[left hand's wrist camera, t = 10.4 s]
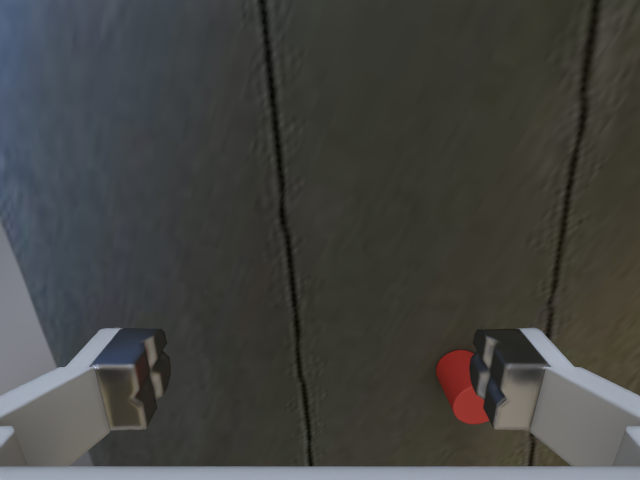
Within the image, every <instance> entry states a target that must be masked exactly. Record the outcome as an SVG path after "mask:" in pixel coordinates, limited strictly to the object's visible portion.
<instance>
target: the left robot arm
mask: <svg viewBox="0 0 640 480" xmlns="http://www.w3.org/2000/svg"><path fill="white" fill-rule="evenodd" d="M166 344H167V341H166V336H165V332H164V331H163V330H162V329H139V328H124V329H123V328H104V329H101V330H99V331H98V332H97V334H96V335H95V336H94V337H93V338H92V339H91V340H90V341H89V342H88V343H87V344H86V345H85V347H84V348H83V349H82V350H81V351H80V352H79V353H78V354H77V355H76V356H75V357H74V359H73V360H72V361H71V362H70V363H69V364H68V365H67V366H66V367H59V368H57V369H55V370H53V371H50V372H48V373H46V374H44V375H42V376H40V377H38V378H36V379H34V380H32V381H30V382H28V383H26V384H24V385H22V386H19V387H17V388H15V389H13V390H11V391H9V392H7V393H5V394H3V395H1V396H0V480H640V396H639V395H637V394H635V393H633V392H631V391H629V390H627V389H625V388H622V387H620V386H618V385H616V384H614V383H612V382H610V381H608V380H606V379H604V378H602V377H600V376H598V375H596V374H594V373H592V372H590V371H587V370H585V369H583V368H581V367H574V366H573V365H572V364H571V363H570V362H569V361H568V360H567V359H566V357H565V356H564V355H563V354H562V353H561V352H560V351H559V350H558V349H557V348H556V347H555V345H554V344H553V343H552V342H551V341H550V340H549V339H548V338H547V337H546V336H545V335H544V333H543V332H542V331H541V330H539V329H537V328H516V329H480V330H477V331H476V333H475V335H474V340H473V344H474V346H475V347H476V349H477V352H476V353H475V354H474V355H473V356H472V357H471V359H470V366H469V371H470V380H471V383H472V387H473V389H474V391H475V393H476V395H478V396H479V397H480V398H482V399H483V400H484V405H483V409H484V411H485V413H486V415H487V417H488V418H489V420H490V422H491V424H492V426H493V428H494V429H505V430H530V432H531V433H532V434H533V435H534V436H535V437H537V438H538V439H539V440H540V441H542V442H543V443H544V444H545V445H546V446H548V447H549V448H550V449H551V450H552V451H554V452H555V453H556V454H557V455H559V456H560V457H561V458H562V459H563V460H565V461H566V462H567V463H568V464H569V465H571V466H376V467H320V466H84V467H83V466H69V465H71V464H72V463H73V462H74V461H76V460H77V459H78V458H79V457H80V456H82V455H83V454H84V453H85V452H86V451H88V450H89V449H90V448H91V447H93V446H94V445H95V444H96V443H97V442H99V441H100V440H101V439H102V438H103V437H105V436H106V435H107V434H108V433H110V430H134V429H146V428H147V426H148V424H149V422H150V420H151V419H152V417H153V415H154V413H155V411H156V409H157V405H156V400H157V399H158V398H160V397H161V396H162V395H164V393H165V391H166V389H167V387H168V383H169V379H170V370H171V365H170V358H169V357H168V356H167V355H166V354H165V353H164V352H163V349H164V347H165V346H166Z"/></svg>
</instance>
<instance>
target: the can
mask: <svg viewBox="0 0 640 480" xmlns="http://www.w3.org/2000/svg"><path fill="white" fill-rule="evenodd" d="M473 355H474V354H473V353H472V352H469V351H466V350H456V351H452V352H450V353H448V354H446V355H445V356H443V357H442V358H441V359H440V361H439V362H438V364H437V368H436V374H437V377H438V379H439V382H440V384H441V386H442V388H443V390H444V393H445V395H446V397H447V399H448V401H449V403H450V406H451V408H452V410H453V412H454V414H455V416H456V417H457V418H458V419H459V420H460V421H462V422H464V423H468V424H480V423H484V422H486V421H489V418H488V417H487V415H486V413H485V411H484V409H483V405H484V400H483V399H482V398H480V397H479V396H478V395H476V393H475V391H474V389H473V387H472V383H471V380H470V371H469V366H470V359H471V357H472V356H473Z"/></svg>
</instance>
